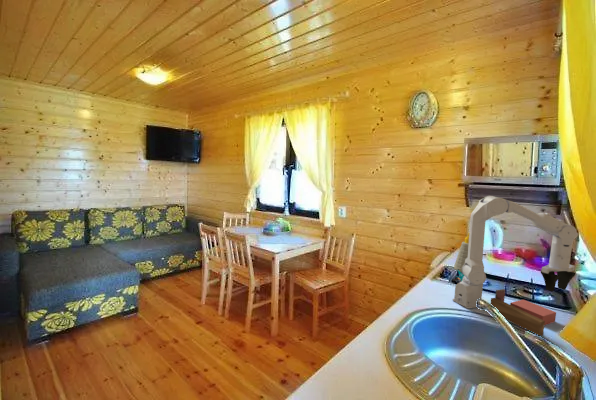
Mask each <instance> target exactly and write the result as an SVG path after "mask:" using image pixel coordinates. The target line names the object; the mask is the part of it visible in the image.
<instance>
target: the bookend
mask: <svg viewBox="0 0 596 400" xmlns="http://www.w3.org/2000/svg"><path fill="white" fill-rule="evenodd" d="M505 294H506V289H504V288H503V289H496V290H495V296H494V298H497V299H499V300H501V301H503V302H505V298H506V295H505Z"/></svg>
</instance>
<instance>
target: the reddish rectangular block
mask: <svg viewBox="0 0 596 400" xmlns="http://www.w3.org/2000/svg"><path fill="white" fill-rule="evenodd" d="M509 305H512V306H514V307H516V308H518V309H520V310H522V311H524V312H527V313H529V314H531V315H533V316H535V317H537V318H539V319H541V320H544V321H545V324H544V326H547V325H549V324H552V323H556V318H557V312H556V311H554V310H551V309H549V308H547V307H544V306H541V305H539V304H536V303H534V302H530V301H528V300H526V299H519V300H515V301H513V302H509Z"/></svg>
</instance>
